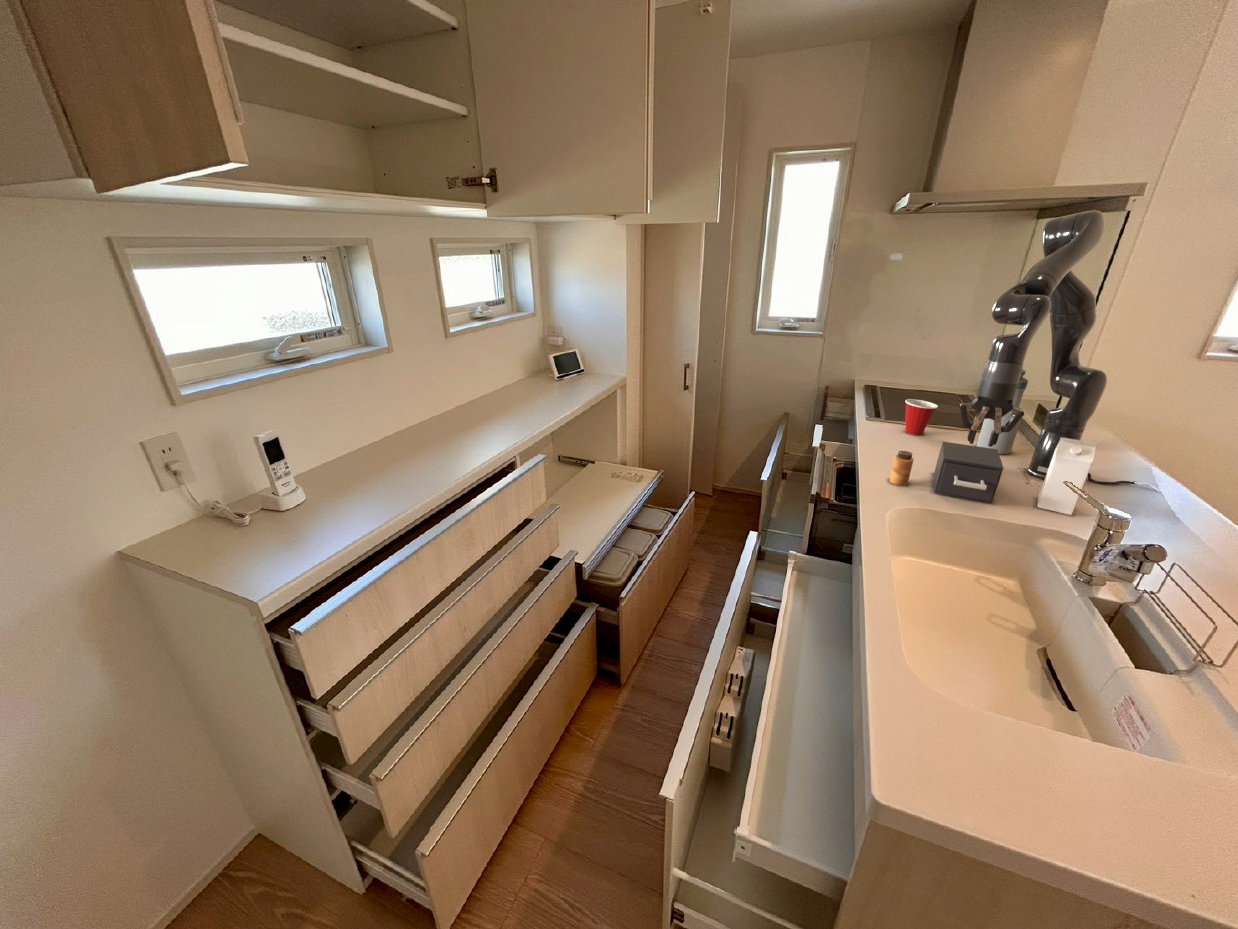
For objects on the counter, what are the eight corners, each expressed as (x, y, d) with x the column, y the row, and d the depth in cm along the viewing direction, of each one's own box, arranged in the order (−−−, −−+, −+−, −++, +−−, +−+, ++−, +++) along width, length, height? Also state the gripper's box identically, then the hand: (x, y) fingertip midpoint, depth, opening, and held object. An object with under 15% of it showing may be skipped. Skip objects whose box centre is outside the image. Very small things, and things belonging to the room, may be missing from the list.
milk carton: (1037, 498, 138) (1060, 433, 131) (1071, 505, 134) (1097, 439, 126) (1036, 507, 133) (1060, 441, 125) (1071, 515, 129) (1098, 447, 121)
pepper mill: (907, 481, 149) (915, 451, 145) (907, 487, 145) (914, 457, 141) (890, 477, 151) (896, 448, 147) (889, 483, 147) (895, 454, 144)
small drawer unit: (992, 503, 135) (1003, 467, 131) (934, 492, 142) (943, 458, 137) (986, 482, 148) (997, 449, 144) (933, 473, 154) (942, 441, 150)
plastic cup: (935, 438, 183) (944, 406, 178) (904, 436, 185) (911, 405, 180) (924, 428, 193) (931, 398, 188) (894, 427, 195) (901, 397, 190)
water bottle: (974, 442, 178) (997, 365, 168) (1007, 447, 174) (1033, 367, 163) (977, 452, 170) (1002, 371, 159) (1012, 457, 166) (1040, 374, 155)
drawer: (992, 509, 130) (1002, 479, 127) (937, 499, 136) (945, 469, 132) (986, 482, 146) (994, 454, 142) (937, 473, 152) (944, 446, 148)
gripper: (966, 378, 123) (949, 444, 129) (1038, 385, 116) (1016, 454, 123) (965, 373, 129) (948, 435, 135) (1033, 379, 122) (1012, 444, 129)
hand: (980, 444), depth 129 cm, fingers open, 3 cm apart
